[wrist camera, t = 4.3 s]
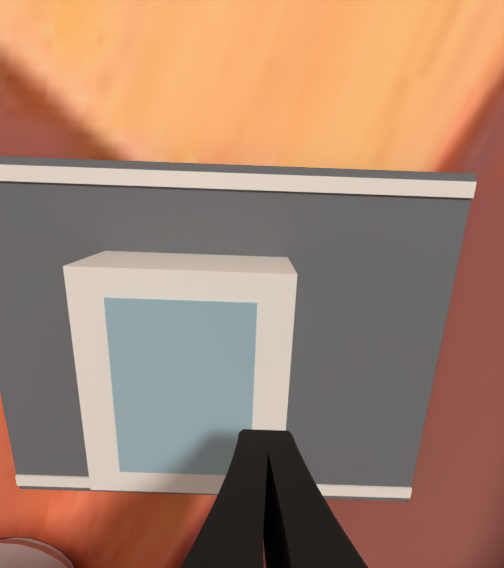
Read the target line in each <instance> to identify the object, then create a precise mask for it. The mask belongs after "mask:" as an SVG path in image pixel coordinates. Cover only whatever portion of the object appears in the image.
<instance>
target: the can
mask: <svg viewBox="0 0 504 568" xmlns="http://www.w3.org/2000/svg"><path fill="white" fill-rule="evenodd" d="M0 568H74V566H73V564H72V562H71V561H70V560H69V559H68V558H67V557H66V556H65V555H64V554H63V553H62V552H61V551H59V550H57V549H56V548H54V547H52V546H50V545H49V544H47V543H44V542H41V541H37V540H34V539H31V538H17V537H12V538H7V539H1V540H0Z"/></svg>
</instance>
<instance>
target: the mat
mask: <svg viewBox="0 0 504 568" xmlns="http://www.w3.org/2000/svg"><path fill="white" fill-rule="evenodd" d="M476 175H477V174H468V173H441V172H414V171H387V170H359V169H332V168H305V167H278V166H251V165H224V164H196V163H169V162H142V161H115V160H88V159H61V158H33V157H6V156H0V393H1V398H2V403H3V408H4V413H5V418H6V423H7V428H8V433H9V438H10V443H11V448H12V453H13V459H14V464H15V469H16V474H17V475H16V476H15V478H16V483H17V486H19V489H45V490H77V491H108V492H139V493H170V494H201V495H218V494H204V493H173V492H142V491H111V490H91V489H90V481H89V473H88V465H87V457H86V449H85V441H84V433H83V425H82V417H81V408H80V400H79V392H78V384H77V376H76V368H75V360H74V352H73V344H72V336H71V328H70V320H69V312H68V304H67V295H66V287H65V279H64V271H63V266H64V265H67V264H70V263H73V262H75V261H78V260H81V259H84V258H87V257H89V256H92V255H95V254H98V253H101V252H103V251H124V252H152V253H180V254H209V255H237V256H265V257H288V259H289V260H290V262H291V264H292V266H293V267H294V269H295V271H296V273H297V287H296V300H295V314H294V327H293V341H292V354H291V367H290V381H289V394H288V408H287V421H286V431H289V432H290V433H291V434H292V435H293V438H294V440H295V443H296V445H297V447H298V449H299V452H300V454H301V456H302V458H303V460H304V462H305V464H306V466H307V468H308V470H309V472H310V474H311V476H312V478H313V479H314V481H315V483H316V485H317V487H318V488H319V490H320V492H321V494H322V495H323V497H324V498H326V499H357V500H388V501H408V500H409V498H410V496H411V492H412V488H411V485H412V481H413V476H414V471H415V466H416V461H417V457H418V452H419V447H420V442H421V438H422V433H423V428H424V423H425V418H426V414H427V409H428V404H429V399H430V395H431V390H432V385H433V380H434V375H435V371H436V366H437V361H438V356H439V351H440V347H441V342H442V337H443V332H444V328H445V323H446V318H447V313H448V308H449V304H450V299H451V294H452V289H453V285H454V280H455V275H456V270H457V265H458V261H459V256H460V251H461V246H462V242H463V237H464V232H465V227H466V222H467V218H468V213H469V208H470V203H471V199H472V198H473V197H474V192H475V188H476V183H477V182H475V179H476Z"/></svg>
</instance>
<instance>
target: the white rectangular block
mask: <svg viewBox="0 0 504 568" xmlns="http://www.w3.org/2000/svg"><path fill="white" fill-rule="evenodd" d="M63 271H64V279H65V287H66V295H67V304H68V312H69V320H70V328H71V336H72V344H73V352H74V360H75V368H76V376H77V384H78V392H79V400H80V408H81V417H82V425H83V433H84V441H85V449H86V457H87V465H88V473H89V481H90V489H91V490H111V491H142V492H173V493H204V494H218V493H219V491H220V488H221V486H222V484H223V481H224V479H225V477H226V474H227V472H228V469H229V466H230V463H231V461H232V458H233V455H234V452H235V448H236V445H237V441H238V435H239V432H240V431H242V430H243V429H253V430H284V431H286V421H287V408H288V394H289V381H290V367H291V354H292V341H293V327H294V314H295V300H296V287H297V273H296V271H295V269H294V267H293V266H292V264H291V262H290V260H289V259H288V257H265V256H237V255H209V254H180V253H152V252H124V251H103V252H101V253H98V254H95V255H92V256H89V257H87V258H84V259H81V260H78V261H75V262H73V263H70V264H67V265H64V266H63Z"/></svg>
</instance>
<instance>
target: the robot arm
mask: <svg viewBox="0 0 504 568" xmlns="http://www.w3.org/2000/svg"><path fill="white" fill-rule="evenodd" d="M263 540H264V551H265V561H266V568H368V567H367V565H366V564H365V562H364V561H363V559H362V558H361V556H360V555H359V553H358V552H357V551H356V549H355V547H354V546H353V544H352V543H351V541H350V540H349V538H348V537H347V535H346V534H345V532H344V530H343V529H342V527H341V526H340V524H339V522H338V521H337V519H336V518H335V516H334V514H333V513H332V511H331V509H330V508H329V506H328V504H327V502H326V501H325V499H324V497H323V495H322V494H321V492H320V490H319V488H318V487H317V485H316V483H315V481H314V479H313V478H312V476H311V474H310V472H309V470H308V468H307V466H306V464H305V462H304V460H303V458H302V456H301V454H300V452H299V449H298V447H297V445H296V443H295V440H294V438H293V435H292V434H291V433H290V432H289V431H284V430H253V429H243V430H242V431H240V432H239V435H238V441H237V445H236V448H235V452H234V455H233V458H232V461H231V463H230V466H229V469H228V472H227V474H226V477H225V479H224V481H223V484H222V486H221V488H220V491H219V493H218V496H217V498H216V500H215V502H214V504H213V507H212V509H211V511H210V513H209V515H208V517H207V519H206V521H205V523H204V525H203V527H202V529H201V531H200V533H199V535H198V537H197V539H196V541H195V543H194V544H193V546H192V548H191V550H190V552H189V554H188V556H187V557H186V559H185V561H184V563H183V565H182V566H181V568H264V567H263Z"/></svg>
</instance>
